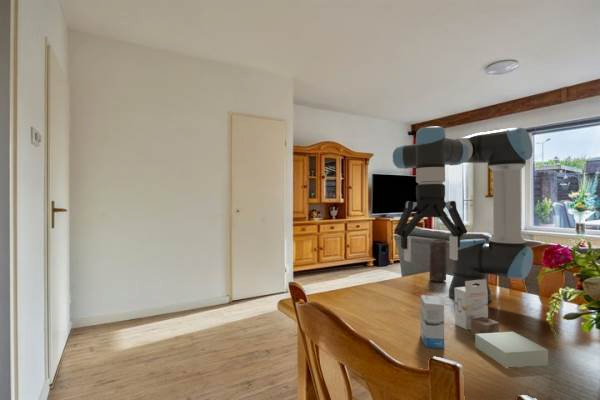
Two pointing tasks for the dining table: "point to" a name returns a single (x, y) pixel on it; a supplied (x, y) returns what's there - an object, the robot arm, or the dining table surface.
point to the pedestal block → (511, 349)
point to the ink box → (432, 321)
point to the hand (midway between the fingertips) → (430, 260)
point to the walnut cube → (483, 326)
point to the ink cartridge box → (470, 302)
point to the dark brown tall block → (438, 260)
